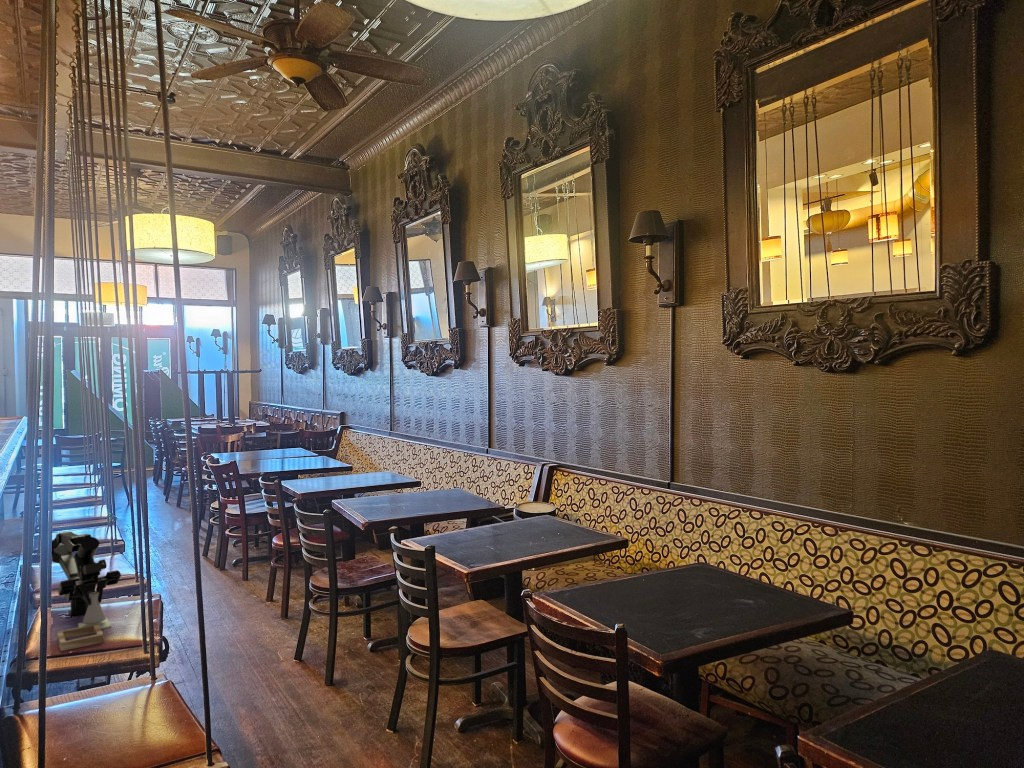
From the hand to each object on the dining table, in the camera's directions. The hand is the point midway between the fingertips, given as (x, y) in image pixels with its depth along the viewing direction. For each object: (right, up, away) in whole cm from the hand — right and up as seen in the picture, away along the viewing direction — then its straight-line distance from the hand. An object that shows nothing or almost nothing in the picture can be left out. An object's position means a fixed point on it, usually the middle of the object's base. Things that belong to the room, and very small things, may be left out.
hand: (95, 603), depth 241 cm
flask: (-1, -7, +1) cm, 7 cm away
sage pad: (-1, -9, +1) cm, 9 cm away
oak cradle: (+2, -9, -11) cm, 14 cm away
